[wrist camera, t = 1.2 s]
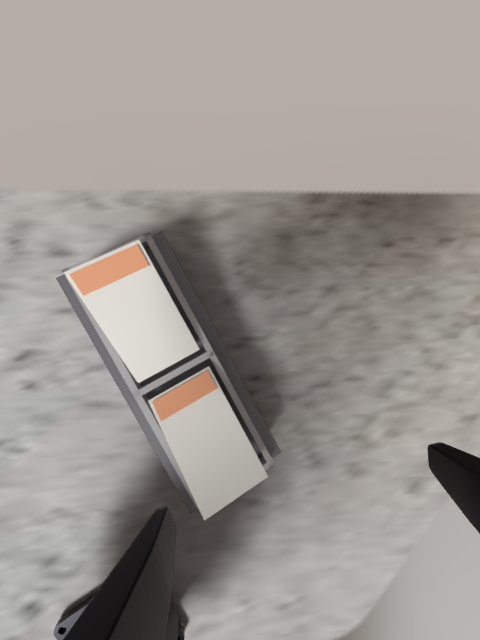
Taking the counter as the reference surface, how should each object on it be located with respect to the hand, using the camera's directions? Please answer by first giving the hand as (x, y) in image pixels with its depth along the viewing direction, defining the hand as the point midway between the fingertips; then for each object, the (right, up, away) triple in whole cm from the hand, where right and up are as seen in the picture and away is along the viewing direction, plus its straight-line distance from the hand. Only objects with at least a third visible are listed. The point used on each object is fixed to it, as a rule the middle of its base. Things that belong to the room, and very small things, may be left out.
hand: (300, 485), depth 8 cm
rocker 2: (-4, -1, +6) cm, 7 cm away
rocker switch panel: (-7, +2, +11) cm, 13 cm away
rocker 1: (-8, +6, +6) cm, 11 cm away
